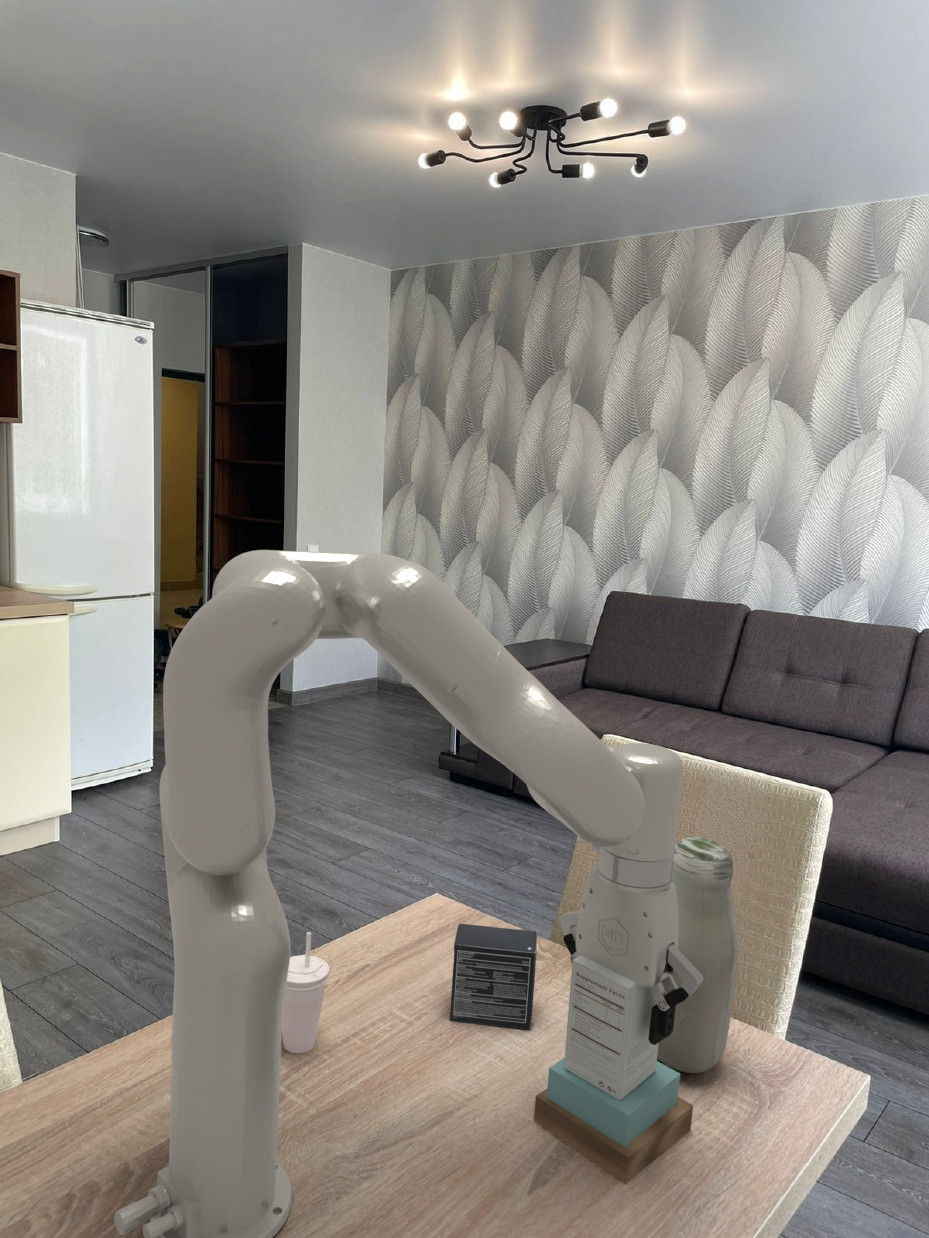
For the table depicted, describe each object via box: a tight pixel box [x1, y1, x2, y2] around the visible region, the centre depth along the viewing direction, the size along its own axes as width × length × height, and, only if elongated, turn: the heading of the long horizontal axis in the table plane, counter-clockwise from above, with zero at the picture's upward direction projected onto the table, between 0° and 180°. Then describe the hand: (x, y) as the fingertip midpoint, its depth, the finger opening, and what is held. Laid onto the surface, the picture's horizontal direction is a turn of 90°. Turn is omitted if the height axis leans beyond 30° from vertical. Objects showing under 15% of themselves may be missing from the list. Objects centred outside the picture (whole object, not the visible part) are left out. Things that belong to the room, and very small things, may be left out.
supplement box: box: [564, 955, 664, 1100], centre depth 98 cm, size 7×7×13 cm
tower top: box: [546, 1057, 681, 1147], centre depth 99 cm, size 10×10×4 cm
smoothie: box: [281, 931, 331, 1054], centre depth 109 cm, size 6×6×14 cm
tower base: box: [533, 1088, 694, 1185], centre depth 100 cm, size 12×12×4 cm
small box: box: [448, 923, 538, 1031], centre depth 119 cm, size 11×6×10 cm, turn 84°
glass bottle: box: [657, 836, 740, 1074], centre depth 110 cm, size 10×10×28 cm
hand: (620, 1017), depth 98 cm, fingers open, 9 cm apart
